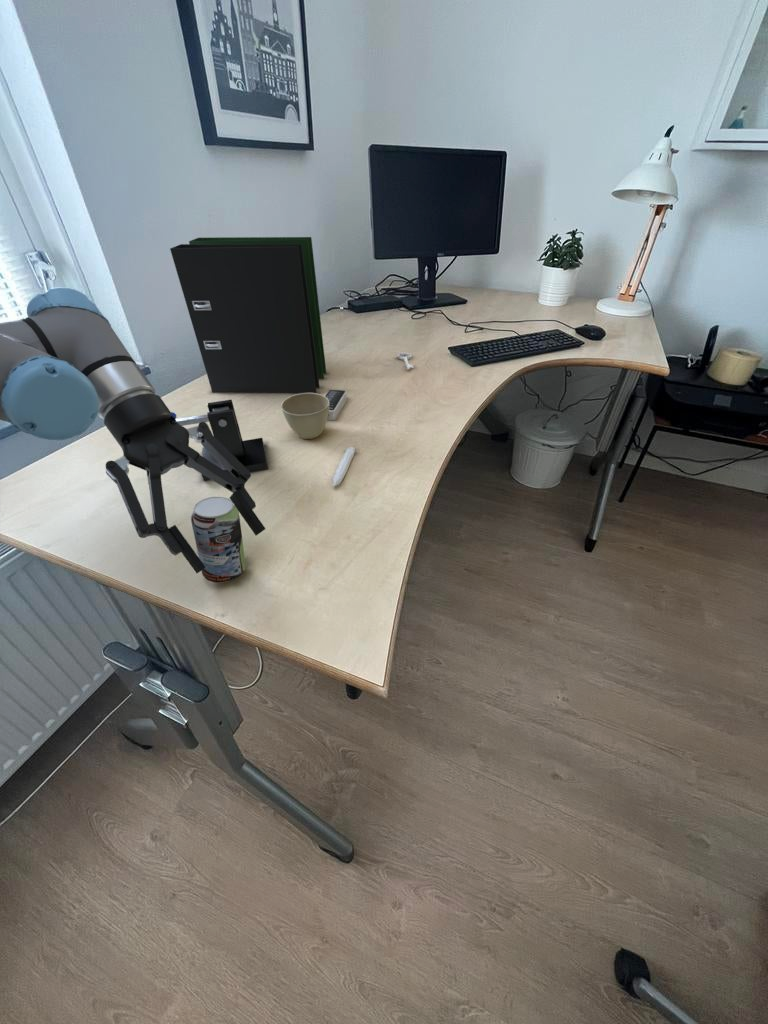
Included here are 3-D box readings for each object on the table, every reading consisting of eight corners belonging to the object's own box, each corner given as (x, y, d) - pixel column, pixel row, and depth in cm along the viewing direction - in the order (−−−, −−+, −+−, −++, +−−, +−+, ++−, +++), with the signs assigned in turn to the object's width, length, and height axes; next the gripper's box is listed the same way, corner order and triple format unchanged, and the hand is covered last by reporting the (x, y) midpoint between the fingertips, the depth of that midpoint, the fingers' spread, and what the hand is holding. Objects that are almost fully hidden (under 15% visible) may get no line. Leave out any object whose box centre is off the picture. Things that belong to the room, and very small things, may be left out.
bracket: (203, 480, 81) (183, 424, 74) (204, 453, 89) (186, 400, 81) (268, 469, 84) (255, 413, 76) (263, 443, 91) (251, 390, 84)
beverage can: (195, 580, 62) (167, 518, 55) (230, 548, 67) (208, 486, 60) (229, 595, 60) (204, 532, 53) (262, 560, 65) (244, 497, 58)
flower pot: (277, 440, 92) (271, 409, 88) (301, 419, 99) (297, 389, 95) (318, 449, 89) (314, 418, 84) (340, 426, 96) (337, 396, 91)
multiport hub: (347, 399, 107) (346, 390, 105) (335, 420, 98) (334, 411, 97) (330, 397, 107) (329, 389, 106) (316, 418, 99) (315, 409, 98)
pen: (330, 491, 78) (329, 483, 77) (349, 450, 89) (348, 443, 88) (338, 492, 78) (337, 484, 77) (356, 450, 88) (356, 443, 87)
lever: (166, 438, 76) (162, 426, 75) (169, 422, 81) (164, 410, 79) (232, 427, 79) (228, 415, 77) (231, 413, 83) (227, 401, 82)
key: (410, 354, 128) (396, 354, 128) (410, 351, 128) (396, 351, 128) (415, 370, 119) (400, 370, 119) (415, 367, 119) (400, 367, 119)
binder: (326, 372, 120) (312, 236, 99) (315, 395, 108) (295, 248, 88) (232, 370, 122) (198, 237, 101) (211, 393, 111) (168, 249, 90)
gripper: (199, 392, 65) (285, 517, 67) (43, 452, 53) (153, 601, 55) (209, 366, 59) (303, 504, 61) (34, 427, 47) (159, 596, 49)
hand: (232, 550), depth 58 cm, fingers open, 9 cm apart
